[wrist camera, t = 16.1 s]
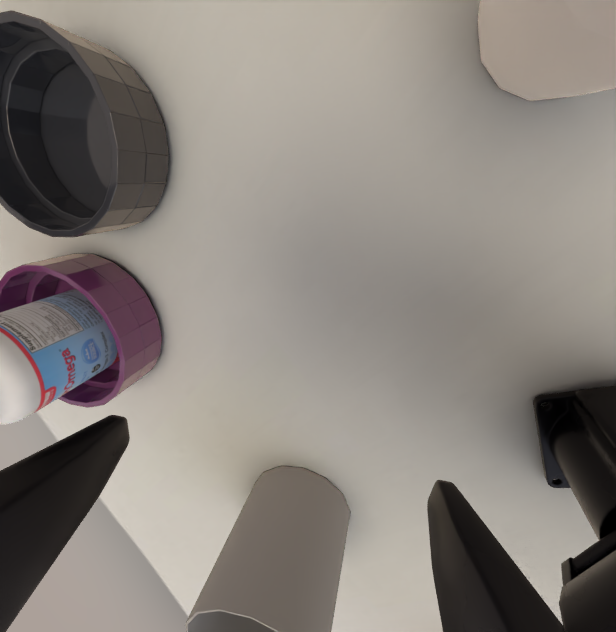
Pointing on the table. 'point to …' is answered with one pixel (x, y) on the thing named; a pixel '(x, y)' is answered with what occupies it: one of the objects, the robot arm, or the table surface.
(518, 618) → the robot arm
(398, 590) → the table surface
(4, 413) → the pill bottle
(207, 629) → the cup
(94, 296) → the plum bowl
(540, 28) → the foam cup
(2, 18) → the charcoal bowl
